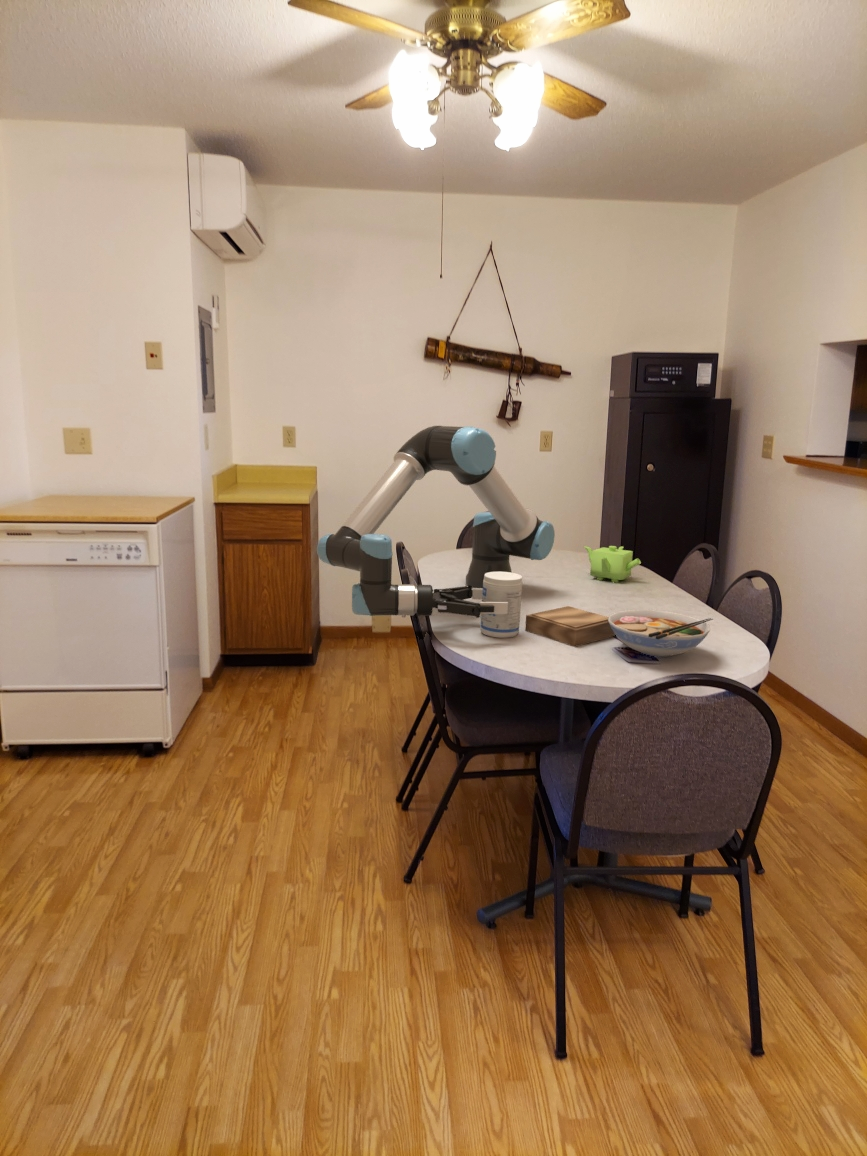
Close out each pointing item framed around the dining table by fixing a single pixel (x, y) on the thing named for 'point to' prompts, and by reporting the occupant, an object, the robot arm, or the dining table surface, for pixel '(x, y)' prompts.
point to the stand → (569, 625)
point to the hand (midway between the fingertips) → (502, 600)
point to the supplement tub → (502, 590)
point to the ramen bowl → (658, 631)
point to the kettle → (611, 563)
